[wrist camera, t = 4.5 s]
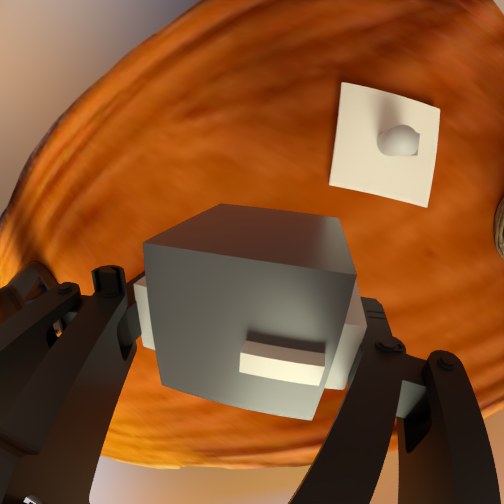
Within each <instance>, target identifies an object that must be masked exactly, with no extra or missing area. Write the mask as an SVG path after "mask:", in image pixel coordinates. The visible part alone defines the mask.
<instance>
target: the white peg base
mask: <svg viewBox="0 0 504 504" xmlns="http://www.w3.org/2000/svg"><path fill="white" fill-rule="evenodd" d="M439 119H440V109H438V108H435V107H433V106H430V105H427V104H424V103H421V102H418V101H415V100H412V99H409V98H406V97H402V96H399V95H396V94H392V93H388V92H385V91H381V90H377V89H373V88H369V87H364V86H360V85H355V84H350V83H345V82H342V84H341V89H340V100H339V109H338V118H337V127H336V135H335V143H334V150H333V157H332V164H331V171H330V178H329V185H332V186H337V187H343V188H347V189H352V190H357V191H362V192H366V193H371V194H375V195H379V196H383V197H388V198H392V199H396V200H400V201H404V202H408V203H411V204H415V205H419V206H423V207H426V208H427V205H428V200H429V195H430V190H431V184H432V179H433V172H434V166H435V159H436V151H437V142H438V132H439Z"/></svg>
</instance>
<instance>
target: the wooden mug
mask: <svg viewBox="0 0 504 504" xmlns="http://www.w3.org/2000/svg"><path fill="white" fill-rule="evenodd" d="M494 233H495V242H496V248H497V250H498V252H499V254H500V255H501V256H502V257H503V258H504V197H503V199H502V200H501V202H500V204H499V206H498V208H497V212H496V215H495V222H494Z"/></svg>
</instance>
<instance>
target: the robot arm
mask: <svg viewBox="0 0 504 504" xmlns="http://www.w3.org/2000/svg"><path fill="white" fill-rule="evenodd" d="M91 272H92V278H93V284H94V289H95V292H94V293H93V295H92V296H87V295H81V292H80V287H79V285H78V284H76V283H71V282H64V283H62V284H59V285H58V284H57V282H56V280H55V279H54V277H53V276H52V274H51V273H50V272H49V271H48V269H47V268H46V267H45V266H43V265H42V264H41V263H39V262H37V261H32V262H30V263H28V264H26V265H24V266H23V267H22V268H21V269H20V270H19V271H18V272H17V274H16V275H15V276H14V277H13V278H12V279H11V281H10V282H9V283H8V284H7V285H6V286H4V287H2V288H0V504H27V503H24V502H23V501H24V500H25V498H26V497H27V498H29V499H31V500H32V501H33V502H35V503H36V504H90V503H89V494H90V490H91V486H92V482H93V478H94V475H95V471H96V467H97V464H98V460H99V457H100V453H101V450H102V447H103V444H104V440H105V437H106V434H107V431H108V428H109V425H110V422H111V419H112V416H113V413H114V410H115V407H116V404H117V401H118V398H119V396H120V393H121V390H122V387H123V385H124V382H125V379H126V377H127V374H128V371H129V369H130V366H131V363H132V361H133V358H134V356H135V353H136V351H137V345H136V339H137V338H138V337H139V336H140V335H141V336H142V341H143V346H144V347H147V348H150V349H153V350H155V346H154V340H153V334H152V327H151V320H150V313H149V305H148V297H147V288H146V278H145V271H144V272H142V274H139V275H138V276H136V278H133V279H132V280H131V281H129V282H128V283H126V281H125V273H124V269H123V268H122V267H120V266H115V265H107V266H101V267H98V268H96V269H94V270H93V271H91ZM384 313H385V312H384V309H383V307H382V305H381V304H380V303H379V302H378V301H377V300H376V299H373V298H365V297H360V294H359V290H358V286H357V282H356V280H355V284H354V289H353V293H352V297H351V301H350V305H349V309H348V312H347V316H346V320H345V324H344V327H343V331H342V334H341V337H340V341H339V344H338V347H337V351H336V354H335V357H334V360H333V363H332V366H331V369H330V372H329V375H328V378H327V381H326V384H325V387H324V388H330V389H339V390H344V388H345V386H346V383H347V381H348V391H347V393H346V395H345V398H344V400H343V402H342V404H341V406H340V409H339V411H338V413H337V416H336V418H335V420H334V422H333V424H332V426H331V428H330V430H329V432H328V434H327V436H326V438H325V440H324V442H323V444H322V446H321V448H320V450H319V452H318V454H317V456H316V458H315V459H314V461H313V463H312V465H311V467H310V468H309V470H308V472H307V474H306V475H305V477H304V479H303V480H302V482H301V484H300V485H299V487H298V488H297V490H296V492H295V493H294V495H293V496H292V498H291V499H290V501H289V502H288V504H369V503H370V501H371V498H372V496H373V493H374V490H375V487H376V485H377V482H378V479H379V476H380V473H381V470H382V467H383V463H384V460H385V457H386V454H387V450H388V446H389V443H390V439H391V435H392V431H393V427H394V422H395V418H396V416H397V431H398V451H399V490H398V504H501V500H500V492H499V485H498V479H497V473H496V468H495V463H494V458H493V454H492V450H491V446H490V442H489V438H488V434H487V431H486V427H485V424H484V421H483V417H482V414H481V411H480V408H479V405H478V402H477V400H476V397H475V394H474V391H473V389H472V386H471V383H470V381H469V378H468V376H467V373H466V371H465V369H464V366H463V364H462V362H461V361H460V359H459V358H458V357H456V356H455V355H454V354H453V353H450V352H448V351H443V350H436V351H434V352H432V353H431V354H430V355H429V357H428V359H427V360H423V359H420V358H416V357H413V356H410V355H408V354H406V348H405V346H404V344H403V343H402V342H401V341H400V340H399V339H397V338H396V337H393V336H392V333H391V330H390V327H389V324H388V321H387V320H386V319H387V318H386V315H385V314H384ZM60 332H62V334H61V335H60V336H59V337H57V335H56V334H59V333H60ZM29 504H33V503H31V502H30V503H29Z"/></svg>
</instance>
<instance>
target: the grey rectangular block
mask: <svg viewBox="0 0 504 504" xmlns="http://www.w3.org/2000/svg"><path fill="white" fill-rule="evenodd" d="M143 253H144V266H145V278H146V288H147V297H148V305H149V313H150V320H151V327H152V334H153V340H154V346H155V352H156V358H157V363H158V368H159V373H160V378H161V383H162V385H163V386H166V387H169V388H172V389H175V390H178V391H181V392H184V393H188V394H191V395H194V396H197V397H201V398H204V399H208V400H211V401H215V402H219V403H223V404H227V405H231V406H235V407H239V408H243V409H248V410H253V411H257V412H262V413H268V414H273V415H279V416H285V417H291V418H298V419H305V420H312V419H313V416H314V414H315V411H316V408H317V406H318V403H319V400H320V398H321V395H322V392H323V390H324V387H325V384H326V381H327V378H328V375H329V372H330V369H331V366H332V363H333V360H334V357H335V354H336V351H337V347H338V344H339V341H340V337H341V334H342V331H343V327H344V324H345V320H346V316H347V312H348V309H349V305H350V301H351V297H352V293H353V289H354V284H355V280H356V276H357V274H356V271H355V267H354V264H353V261H352V257H351V254H350V251H349V248H348V245H347V242H346V239H345V236H344V233H343V230H342V227H341V224H340V221H339V218H335V217H328V216H321V215H313V214H306V213H299V212H291V211H283V210H275V209H266V208H258V207H249V206H239V205H229V204H219V205H217V206H215V207H213V208H211V209H209V210H206V211H204V212H202V213H200V214H198V215H196V216H194V217H192V218H190V219H188V220H186V221H184V222H182V223H180V224H178V225H176V226H174V227H172V228H170V229H168V230H166V231H164V232H162V233H160V234H158V235H156V236H154V237H152V238H151V239H149V240H147V241H145V242H143Z"/></svg>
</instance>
